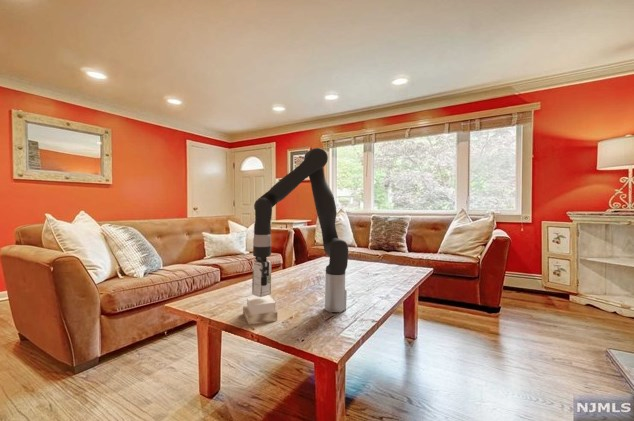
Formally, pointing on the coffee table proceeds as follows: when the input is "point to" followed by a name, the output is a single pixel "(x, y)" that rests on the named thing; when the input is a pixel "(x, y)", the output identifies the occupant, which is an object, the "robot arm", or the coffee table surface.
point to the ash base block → (259, 317)
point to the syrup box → (256, 280)
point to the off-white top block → (260, 305)
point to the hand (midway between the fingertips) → (261, 282)
